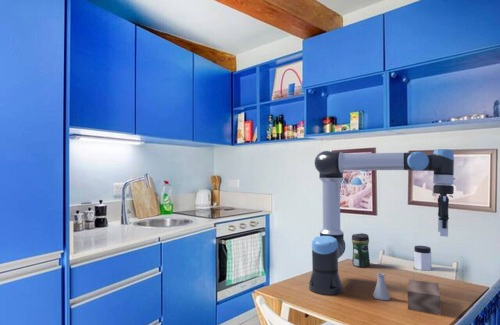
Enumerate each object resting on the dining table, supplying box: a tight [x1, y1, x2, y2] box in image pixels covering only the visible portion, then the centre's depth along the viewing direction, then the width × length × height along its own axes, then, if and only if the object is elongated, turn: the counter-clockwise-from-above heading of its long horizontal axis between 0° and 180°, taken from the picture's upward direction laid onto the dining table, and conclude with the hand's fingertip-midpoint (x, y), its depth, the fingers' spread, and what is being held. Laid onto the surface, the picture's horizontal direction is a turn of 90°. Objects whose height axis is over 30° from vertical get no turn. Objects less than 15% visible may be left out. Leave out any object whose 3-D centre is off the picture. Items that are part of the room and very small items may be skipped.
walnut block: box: [406, 278, 442, 316], centre depth 128 cm, size 11×16×7 cm
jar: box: [413, 245, 432, 272], centre depth 178 cm, size 9×8×12 cm
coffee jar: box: [351, 232, 371, 268], centre depth 185 cm, size 10×8×19 cm
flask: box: [372, 272, 391, 301], centre depth 135 cm, size 7×7×10 cm
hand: (442, 234), depth 136 cm, fingers open, 13 cm apart
